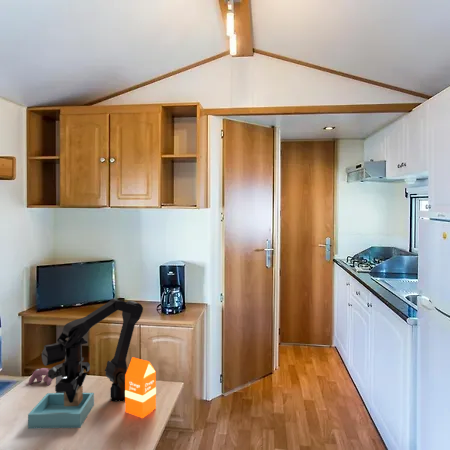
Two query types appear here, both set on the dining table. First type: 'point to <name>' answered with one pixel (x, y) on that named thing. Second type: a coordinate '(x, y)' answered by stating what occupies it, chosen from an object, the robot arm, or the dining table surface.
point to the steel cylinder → (59, 380)
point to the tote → (59, 412)
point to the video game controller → (40, 376)
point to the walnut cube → (76, 400)
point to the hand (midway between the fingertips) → (73, 398)
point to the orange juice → (140, 388)
